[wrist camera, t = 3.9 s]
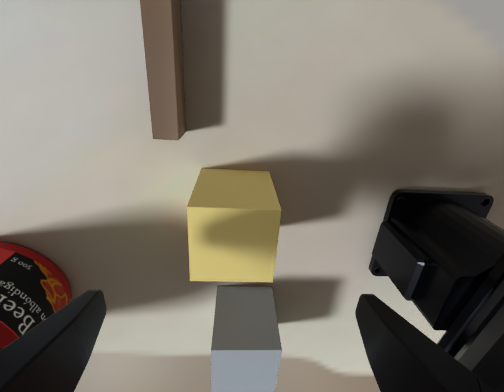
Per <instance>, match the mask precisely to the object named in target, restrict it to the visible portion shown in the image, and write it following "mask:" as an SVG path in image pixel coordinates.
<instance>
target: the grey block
mask: <svg viewBox="0 0 504 392" xmlns="http://www.w3.org/2000/svg"><path fill="white" fill-rule="evenodd" d="M281 352H282V348H281V342H280V336H279V329H278V323H277V316H276V310H275V304H274V297H273V291H272V287H241V286H217V296H216V307H215V317H214V327H213V338H212V348H211V379H212V380H211V382H212V383H211V385H212V386H211V392H275V389H276V383H277V377H278V370H279V363H280V358H281Z"/></svg>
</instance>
